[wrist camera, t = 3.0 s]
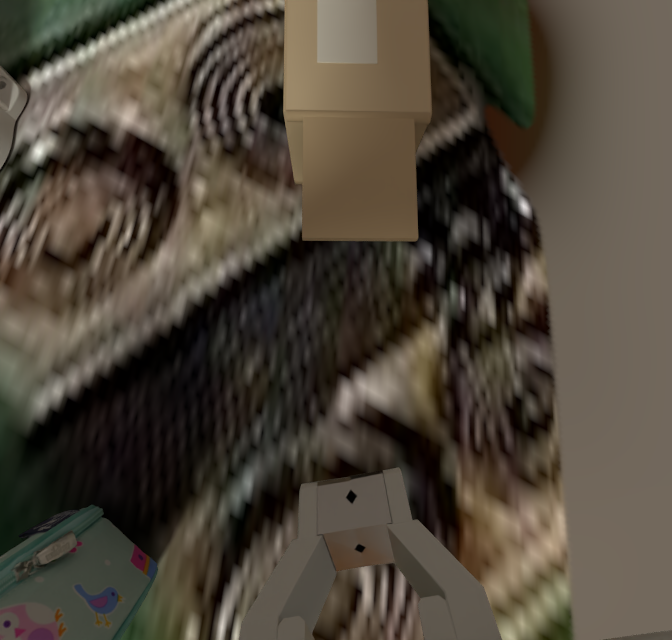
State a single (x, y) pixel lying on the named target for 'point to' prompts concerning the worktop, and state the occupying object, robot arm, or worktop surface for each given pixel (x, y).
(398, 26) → the lid
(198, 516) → the worktop surface
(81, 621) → the lunch box
